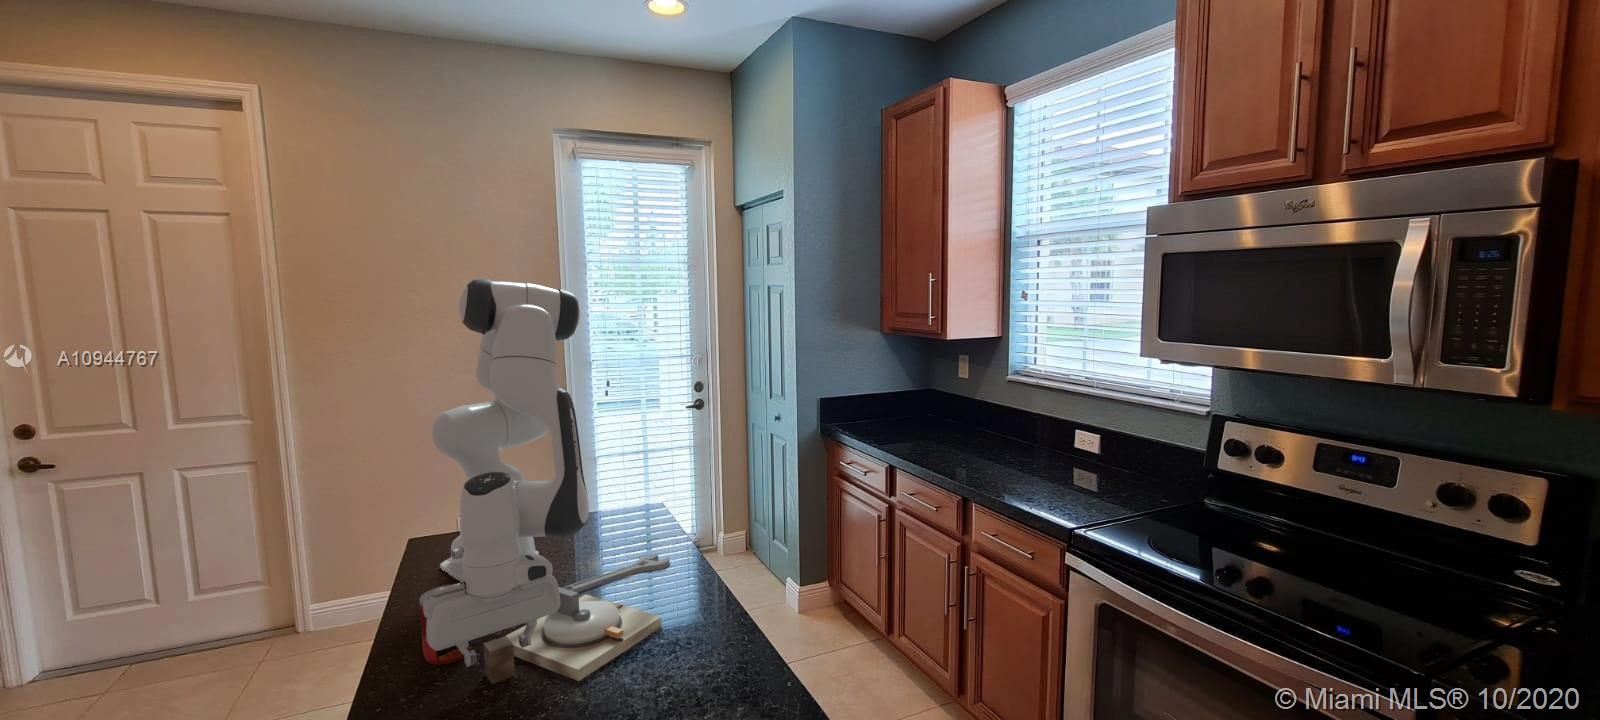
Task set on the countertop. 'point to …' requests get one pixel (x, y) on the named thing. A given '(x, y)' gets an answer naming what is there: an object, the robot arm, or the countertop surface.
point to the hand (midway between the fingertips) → (498, 654)
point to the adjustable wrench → (621, 573)
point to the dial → (581, 620)
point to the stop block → (499, 659)
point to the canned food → (445, 654)
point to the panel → (585, 644)
